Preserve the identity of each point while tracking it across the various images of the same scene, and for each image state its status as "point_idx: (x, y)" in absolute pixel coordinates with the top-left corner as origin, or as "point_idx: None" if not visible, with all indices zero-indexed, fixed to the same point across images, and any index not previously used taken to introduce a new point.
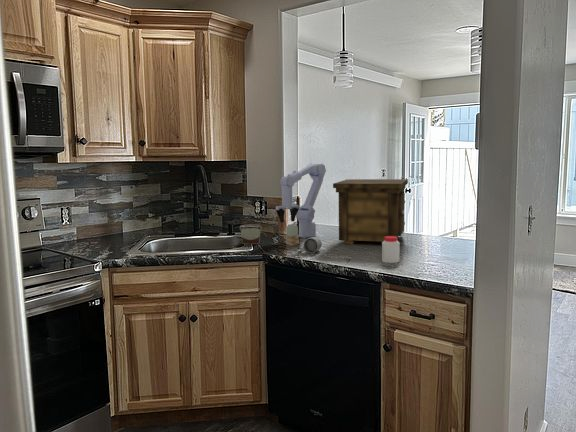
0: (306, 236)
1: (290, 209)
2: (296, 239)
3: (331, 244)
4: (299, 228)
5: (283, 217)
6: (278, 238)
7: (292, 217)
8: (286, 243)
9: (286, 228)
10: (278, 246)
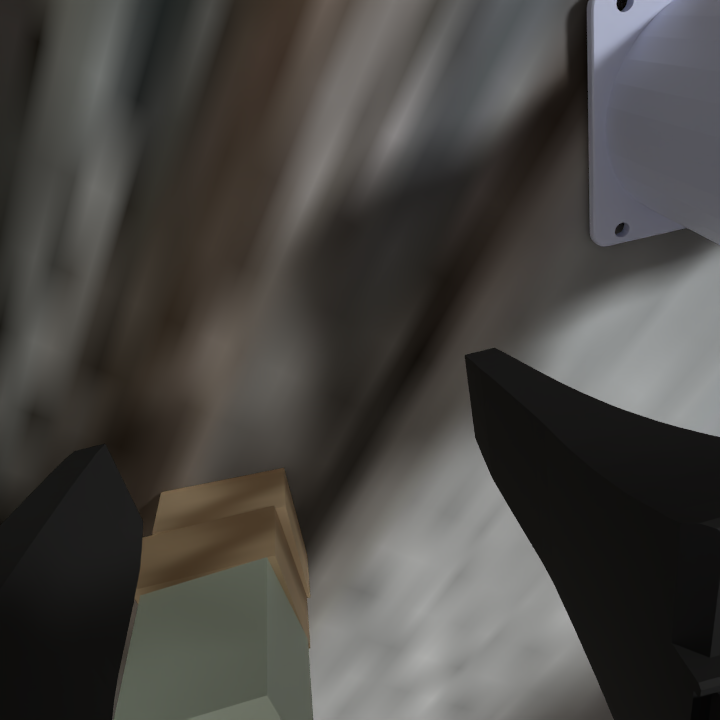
0: (656, 212)
1: (677, 582)
2: None
3: (577, 668)
4: (694, 104)
5: (111, 669)
6: (186, 6)
7: (516, 464)
8: (161, 502)
9: (123, 705)
10: None
